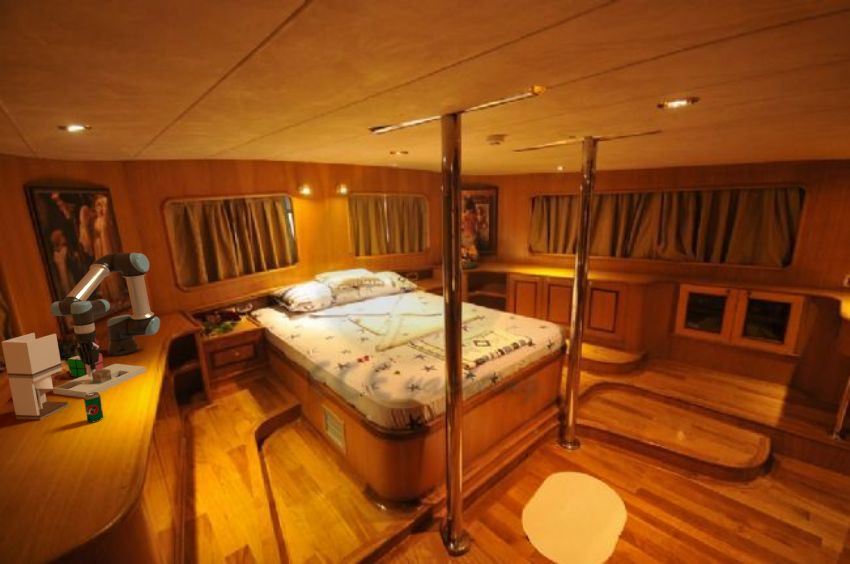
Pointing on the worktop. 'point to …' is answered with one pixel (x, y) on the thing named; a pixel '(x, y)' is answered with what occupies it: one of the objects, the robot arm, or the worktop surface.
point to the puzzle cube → (82, 366)
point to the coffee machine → (32, 374)
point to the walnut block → (101, 375)
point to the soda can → (93, 406)
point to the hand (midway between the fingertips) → (92, 375)
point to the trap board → (87, 385)
